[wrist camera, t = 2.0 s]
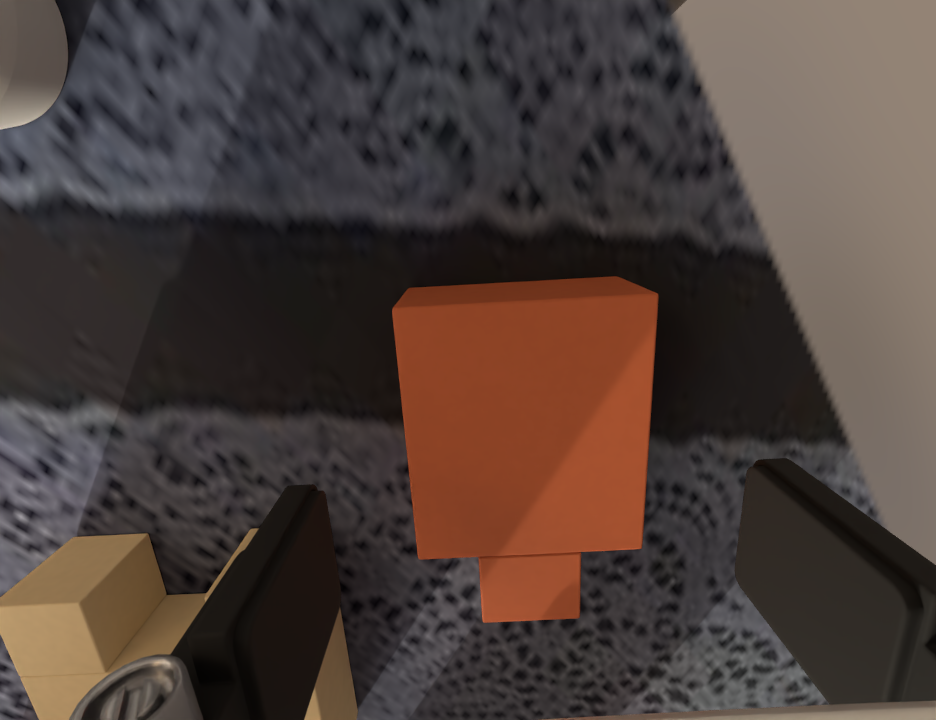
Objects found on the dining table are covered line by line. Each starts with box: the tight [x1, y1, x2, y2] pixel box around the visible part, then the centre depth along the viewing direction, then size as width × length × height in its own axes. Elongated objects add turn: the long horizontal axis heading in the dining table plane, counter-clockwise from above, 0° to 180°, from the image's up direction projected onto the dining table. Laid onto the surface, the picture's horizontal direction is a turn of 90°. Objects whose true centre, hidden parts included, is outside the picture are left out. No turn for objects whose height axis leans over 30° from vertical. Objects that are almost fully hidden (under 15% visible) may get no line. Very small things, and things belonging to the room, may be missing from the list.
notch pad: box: [0, 528, 358, 720], centre depth 18 cm, size 10×10×4 cm
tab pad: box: [392, 276, 659, 623], centre depth 16 cm, size 11×7×4 cm, turn 3°
